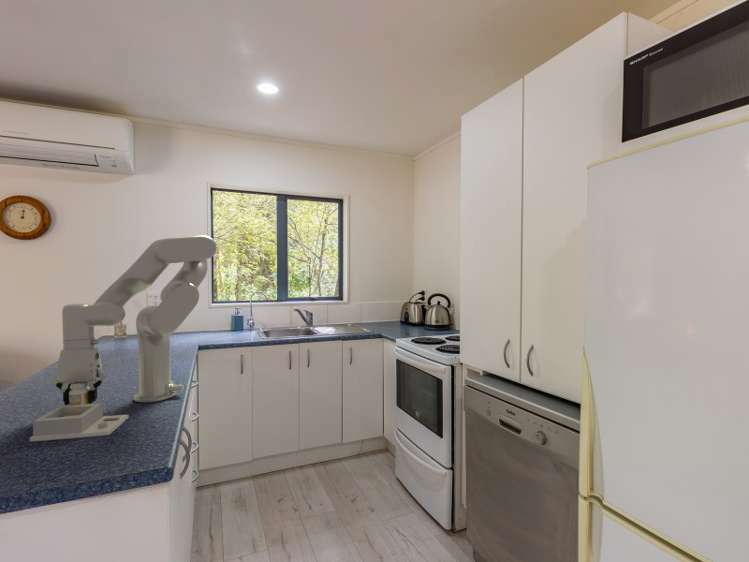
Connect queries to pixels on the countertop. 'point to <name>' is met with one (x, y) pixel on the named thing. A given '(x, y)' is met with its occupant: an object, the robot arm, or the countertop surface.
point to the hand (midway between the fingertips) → (80, 402)
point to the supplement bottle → (79, 393)
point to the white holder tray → (75, 423)
